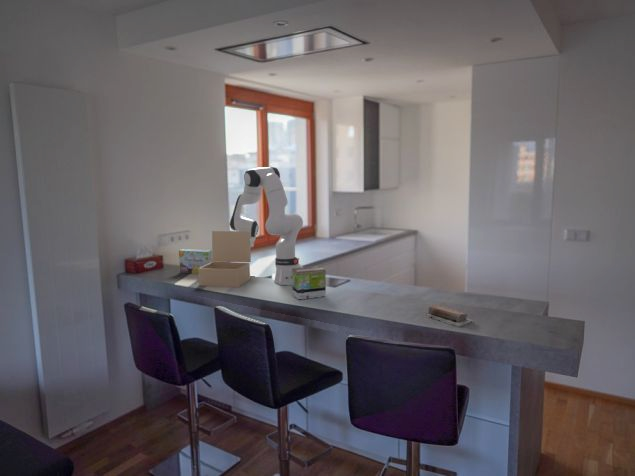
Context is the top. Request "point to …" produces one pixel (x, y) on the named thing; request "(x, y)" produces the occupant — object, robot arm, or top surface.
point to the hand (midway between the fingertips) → (231, 245)
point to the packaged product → (448, 315)
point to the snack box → (193, 259)
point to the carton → (224, 274)
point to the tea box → (308, 282)
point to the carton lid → (231, 246)
